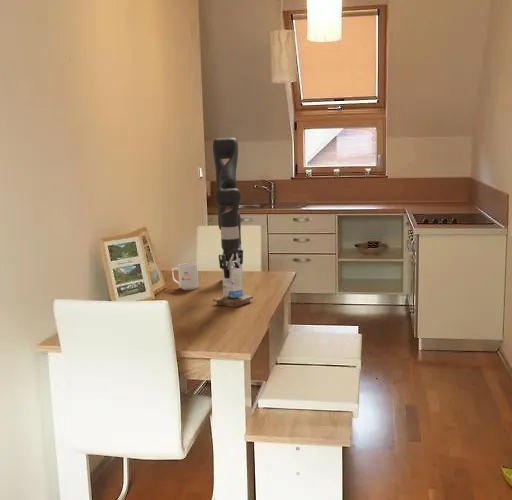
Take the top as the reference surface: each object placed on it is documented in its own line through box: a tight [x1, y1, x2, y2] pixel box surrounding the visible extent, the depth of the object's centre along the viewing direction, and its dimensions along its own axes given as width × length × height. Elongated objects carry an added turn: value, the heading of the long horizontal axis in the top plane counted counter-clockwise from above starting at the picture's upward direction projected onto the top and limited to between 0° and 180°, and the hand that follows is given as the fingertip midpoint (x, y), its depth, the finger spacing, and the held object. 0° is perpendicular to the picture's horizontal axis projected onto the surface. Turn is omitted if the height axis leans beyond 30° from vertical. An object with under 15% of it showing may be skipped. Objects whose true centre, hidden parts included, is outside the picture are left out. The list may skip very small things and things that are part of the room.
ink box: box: [221, 263, 244, 298], centre depth 283 cm, size 8×5×15 cm, turn 34°
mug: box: [171, 262, 199, 291], centre depth 316 cm, size 12×9×11 cm
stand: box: [212, 294, 254, 308], centre depth 284 cm, size 12×12×2 cm
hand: (232, 276), depth 282 cm, fingers closed on ink box, 6 cm apart
